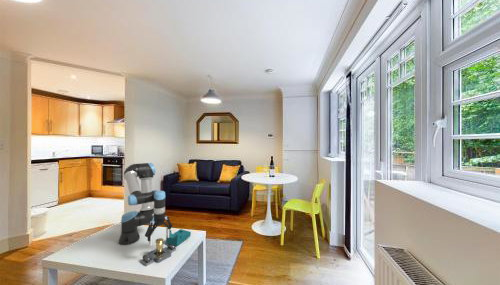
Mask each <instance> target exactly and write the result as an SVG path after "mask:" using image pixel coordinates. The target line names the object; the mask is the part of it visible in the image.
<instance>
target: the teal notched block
mask: <svg viewBox="0 0 500 285" xmlns="http://www.w3.org/2000/svg"><path fill="white" fill-rule="evenodd" d="M191 234H192V231H189V230H185V229H183V228H180V229H178V230H176V232H174V233H172V230H171V229H170V233H169V238H167V237H166V236H165V237H166V238H165V245H166V246H167V244H171V245H173V246H175V247H178V246H180V245H181V243H183V242H184V241H186V240H187V239H188V238H190V237H191Z"/></svg>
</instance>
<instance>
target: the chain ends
mask: <svg viewBox="0 0 500 285" xmlns="http://www.w3.org/2000/svg"><path fill="white" fill-rule="evenodd" d="M176 251H177V247H176V246H175V245H171V244H167V245H166V247H164V248H163V254H161V255H159V256H157V255H156V248H155V249H153V250H151V251H148V252H147V255H146V254H144V255H142V258H141V260H140V263H141V264H142V265H144V266H145V267H147V266H149V265H151V264H154V262H156V263H158V264H159V263H161V262H163V261H165V260H167V259H169V258H170V257H172V253H174V252H176Z"/></svg>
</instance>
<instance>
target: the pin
mask: <svg viewBox="0 0 500 285" xmlns="http://www.w3.org/2000/svg"><path fill="white" fill-rule="evenodd" d="M163 246H164V238H162V237H161V238H159V237H158V238H157V239H155V247H156V248H155V249H156V255H157V256H159V255H161V254H163Z"/></svg>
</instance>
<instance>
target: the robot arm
mask: <svg viewBox="0 0 500 285" xmlns="http://www.w3.org/2000/svg"><path fill="white" fill-rule="evenodd" d="M155 175H156V167H155V164H154V163H152V162H147V163H146V162H144V163H143V162H142V163H133V164H130V165H129V166H127V167H126V168H125V170H124V171H123V178H124V180H125V181H126V184H127V188H128V192H129V195H128V196H127V204H128V206H137V205H141V207H140V209H139V211H137V210H132V211H131V210H130V211H128V212H125V213H124V214H122V216H121V220H120V222H121V226H120V228H121V229H120V236H119V239H118V244H119V245H120V246H122V245H123V246H127V245H128V246H129V245H131V244H134V243H137V242H138V241H139V240H140V233H139V230H138V227H141V226H146V225H148V226H147V229H146V232H145V234H144V237H146V238H147V242H148V245H149V246H150V247H151V246H153V244H152V243H153V240H152V238H153V237H152V235H153V234H154V232H155V230H156V228H157V227H159V226H162V225H164V226H165V227H166V230H165V231H166V232H165V235H166V236H165V237H167V238H169V233H170V230H171V229H172V228H173V224H172V222H171V220H170V217H169V216H167V215H166V192H165V191H164V190H157V189H156V190H155V189H153V186H152V183H153V182H152V180H153V179H154V176H155ZM139 180H140V182H139Z"/></svg>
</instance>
